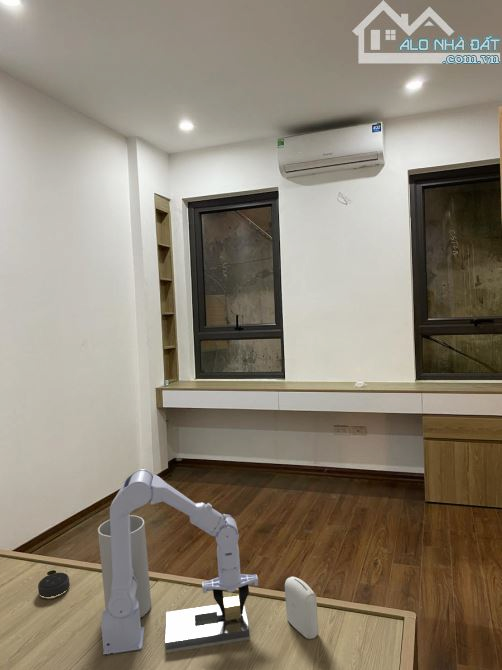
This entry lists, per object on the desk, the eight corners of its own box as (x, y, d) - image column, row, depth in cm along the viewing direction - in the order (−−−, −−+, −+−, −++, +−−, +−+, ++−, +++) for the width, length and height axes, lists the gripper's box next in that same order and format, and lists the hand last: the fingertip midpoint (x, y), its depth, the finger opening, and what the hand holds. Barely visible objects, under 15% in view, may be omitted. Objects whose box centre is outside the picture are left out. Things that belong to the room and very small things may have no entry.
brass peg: (226, 629, 127) (224, 607, 126) (224, 619, 131) (223, 598, 130) (241, 626, 127) (239, 605, 127) (239, 616, 131) (238, 595, 131)
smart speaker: (40, 587, 153) (39, 575, 153) (70, 580, 156) (69, 568, 156) (37, 603, 145) (36, 591, 145) (69, 596, 148) (67, 584, 147)
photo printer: (284, 619, 130) (281, 575, 129) (297, 613, 133) (295, 570, 132) (307, 642, 122) (304, 595, 121) (321, 635, 124) (318, 588, 123)
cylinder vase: (97, 622, 134) (89, 535, 132) (120, 595, 146) (112, 514, 144) (139, 627, 131) (131, 537, 129) (158, 598, 143) (151, 516, 141)
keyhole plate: (165, 653, 121) (165, 642, 121) (167, 621, 133) (166, 612, 133) (249, 639, 124) (249, 629, 124) (244, 609, 136) (243, 600, 135)
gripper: (201, 576, 123) (205, 627, 124) (258, 568, 125) (261, 619, 126) (200, 561, 130) (204, 610, 131) (254, 554, 132) (257, 602, 133)
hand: (232, 613), depth 129 cm, fingers closed on brass peg, 4 cm apart
